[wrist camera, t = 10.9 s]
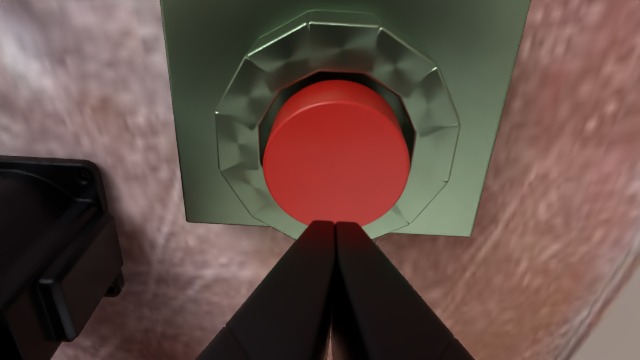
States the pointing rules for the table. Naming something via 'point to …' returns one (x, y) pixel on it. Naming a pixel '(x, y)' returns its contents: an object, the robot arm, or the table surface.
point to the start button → (336, 154)
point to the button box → (340, 64)
